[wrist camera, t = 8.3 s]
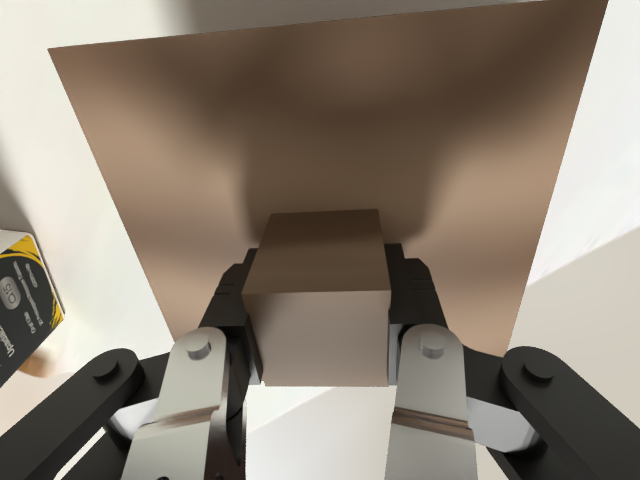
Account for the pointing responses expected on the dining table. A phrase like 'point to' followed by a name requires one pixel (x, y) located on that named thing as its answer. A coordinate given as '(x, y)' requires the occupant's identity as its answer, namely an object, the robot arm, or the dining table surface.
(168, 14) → the dining table surface
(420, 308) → the robot arm
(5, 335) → the medicine bottle
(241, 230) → the walnut lid
